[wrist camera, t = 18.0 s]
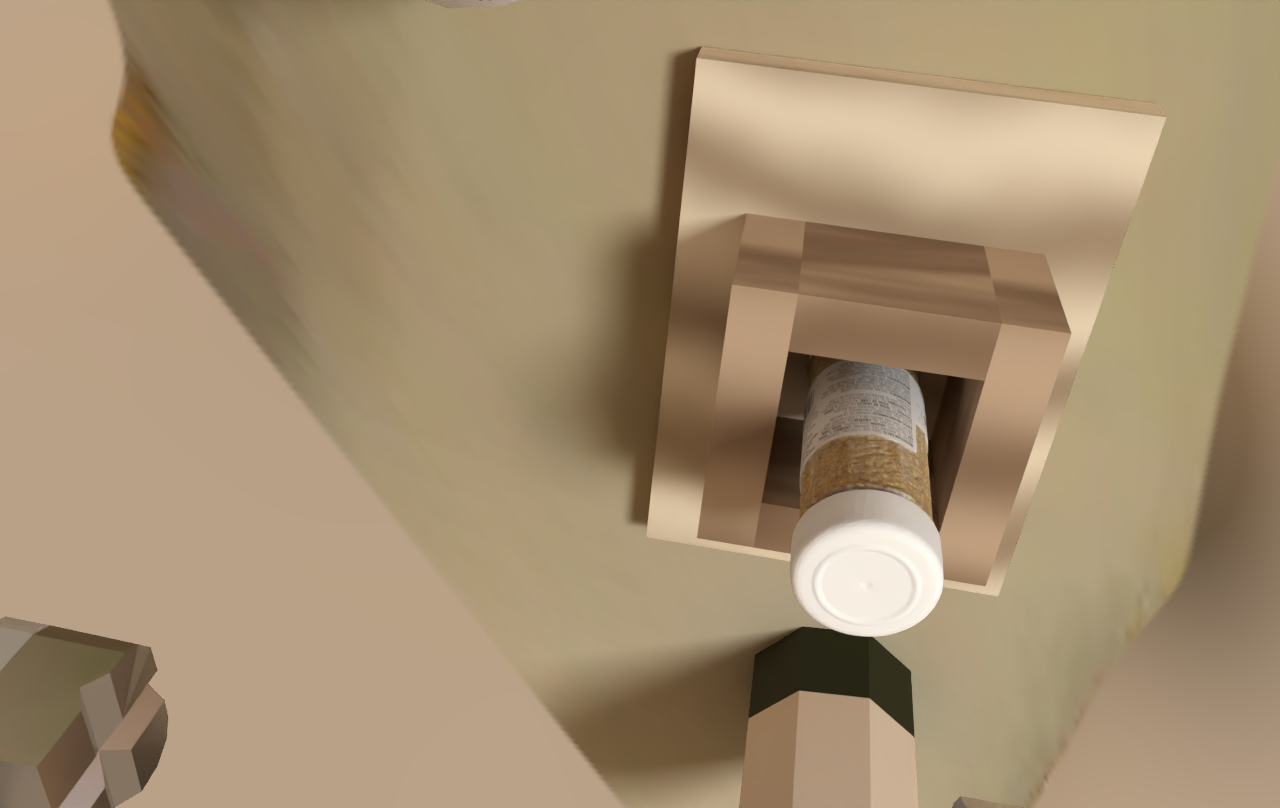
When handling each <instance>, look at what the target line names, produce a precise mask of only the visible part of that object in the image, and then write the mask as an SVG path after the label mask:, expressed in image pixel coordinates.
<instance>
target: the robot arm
mask: <svg viewBox="0 0 1280 808" xmlns="http://www.w3.org/2000/svg"><path fill="white" fill-rule="evenodd" d="M156 672H157V667H156V664H155V661H154V657H153V654H152V650H151V648H150V647H147V646H143V645H138V644H133V643H129V642H124V641H120V640H115V639H110V638H106V637H101V636H97V635H92V634H88V633H83V632H78V631H73V630H69V629H64V628H60V627H55V626H51V625H45V624H40V623H35V622H29V621H25V620H20V619H15V618H10V617H4V618H2V619H0V808H115V807H116V806H118V805H119V804H121V803H123V802H124V801H126V800H128V799H129V798H131V797H133V796H134V795H136V794H138V793H139V792H141V791H142V790H143V788H144V787H145V785H146V783H147V782H148V780H149V779H150V777H151V775H152V774H153V772H154V771H155V769H156V767H157V765H158V762H159V759H160V757H161V754H162V751H163V748H164V745H165V742H166V739H167V727H168V715H167V709H166V705H165V700H164V699H163V698H162V697H161V696H160V695H159V694H158V693H157V692H156V691H155V690H154V689H153V688H152V687H151V686H150V685H149V684H148V683H149V681H150V680H151V679H152V677H153V676H154V674H155V673H156ZM952 808H1024V807H1019V806H1013V805H1007V804H1001V803H995V802H990V801H984V800H978V799H972V798H967V797H961V796H960V797H959V798H958V799H957V800H956V801H955V802H954V804H953V807H952Z"/></svg>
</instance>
